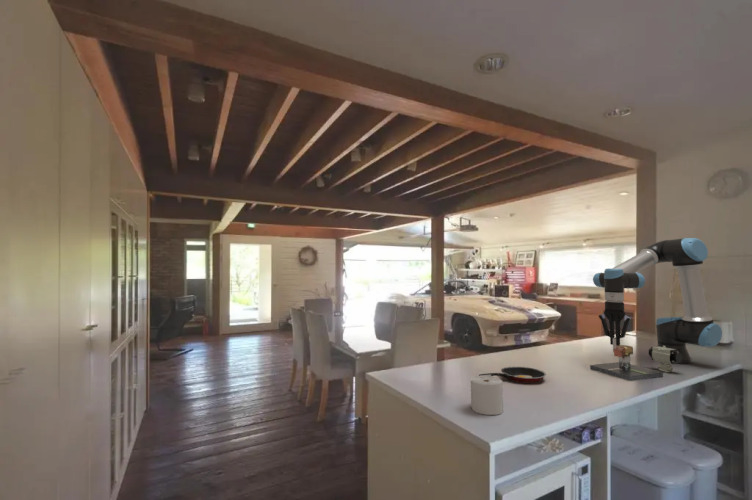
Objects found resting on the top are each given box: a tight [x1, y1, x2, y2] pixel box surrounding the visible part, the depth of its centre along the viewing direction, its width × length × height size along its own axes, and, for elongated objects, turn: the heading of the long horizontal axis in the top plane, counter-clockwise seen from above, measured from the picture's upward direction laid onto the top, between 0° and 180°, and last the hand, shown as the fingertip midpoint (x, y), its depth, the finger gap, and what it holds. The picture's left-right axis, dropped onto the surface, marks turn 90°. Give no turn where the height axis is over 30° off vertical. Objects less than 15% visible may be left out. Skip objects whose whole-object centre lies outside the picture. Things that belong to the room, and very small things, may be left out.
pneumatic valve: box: [648, 346, 682, 373], centre depth 168 cm, size 6×12×12 cm, turn 20°
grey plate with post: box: [589, 354, 664, 382], centre depth 166 cm, size 20×20×9 cm
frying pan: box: [478, 366, 547, 384], centre depth 156 cm, size 19×32×4 cm, turn 106°
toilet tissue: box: [470, 374, 504, 416], centre depth 123 cm, size 11×12×10 cm
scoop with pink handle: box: [613, 344, 634, 358], centre depth 164 cm, size 14×7×3 cm, turn 132°
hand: (615, 352), depth 164 cm, fingers closed
